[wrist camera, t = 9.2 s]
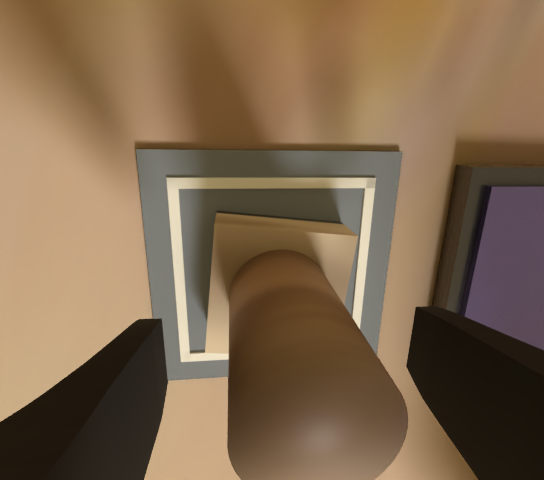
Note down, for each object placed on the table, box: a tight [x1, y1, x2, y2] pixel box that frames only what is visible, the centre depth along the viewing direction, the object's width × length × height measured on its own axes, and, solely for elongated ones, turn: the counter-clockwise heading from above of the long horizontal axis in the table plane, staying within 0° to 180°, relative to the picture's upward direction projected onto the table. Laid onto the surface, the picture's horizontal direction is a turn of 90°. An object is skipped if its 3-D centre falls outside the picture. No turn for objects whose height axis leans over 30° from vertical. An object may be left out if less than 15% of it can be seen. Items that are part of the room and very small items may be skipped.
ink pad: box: [432, 165, 544, 350], centre depth 15 cm, size 9×9×1 cm
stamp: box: [205, 210, 408, 480], centre depth 10 cm, size 5×5×8 cm
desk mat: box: [136, 149, 402, 381], centre depth 14 cm, size 10×10×1 cm
